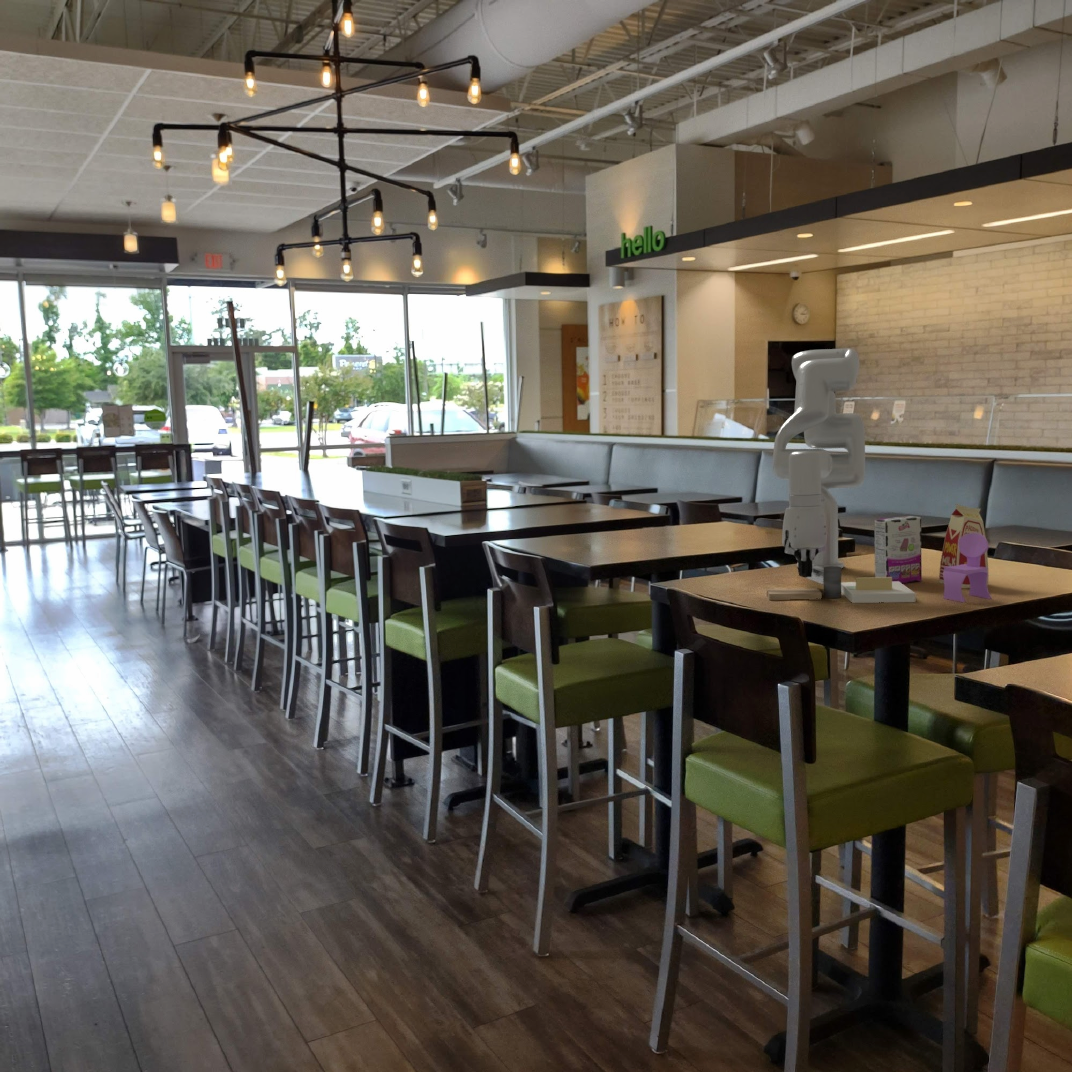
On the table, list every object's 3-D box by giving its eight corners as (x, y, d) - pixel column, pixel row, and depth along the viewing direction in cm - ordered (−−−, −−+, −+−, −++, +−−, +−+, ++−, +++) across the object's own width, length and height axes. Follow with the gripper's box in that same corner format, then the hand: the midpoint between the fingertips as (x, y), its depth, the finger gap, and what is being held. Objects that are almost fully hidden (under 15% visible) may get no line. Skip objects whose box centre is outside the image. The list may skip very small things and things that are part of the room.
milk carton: (959, 588, 244) (960, 506, 242) (936, 582, 253) (937, 502, 251) (992, 585, 246) (994, 503, 243) (969, 579, 255) (970, 500, 252)
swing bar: (832, 583, 242) (832, 571, 242) (823, 584, 242) (823, 572, 241) (813, 576, 253) (813, 564, 253) (804, 576, 253) (803, 565, 253)
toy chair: (938, 598, 233) (938, 533, 231) (966, 594, 237) (967, 530, 235) (966, 604, 226) (967, 537, 224) (995, 599, 229) (996, 534, 227)
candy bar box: (908, 578, 259) (908, 515, 257) (922, 581, 255) (922, 516, 253) (873, 583, 255) (873, 518, 253) (886, 586, 251) (887, 520, 249)
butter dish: (839, 590, 247) (839, 571, 247) (898, 589, 245) (898, 569, 245) (851, 602, 231) (851, 582, 231) (915, 602, 230) (915, 581, 229)
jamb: (766, 595, 244) (766, 566, 244) (838, 594, 242) (838, 565, 242) (769, 600, 239) (769, 570, 238) (843, 598, 236) (843, 569, 236)
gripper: (822, 499, 251) (822, 572, 253) (769, 502, 247) (770, 576, 249) (840, 501, 244) (840, 576, 246) (786, 504, 240) (786, 580, 242)
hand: (805, 576), depth 247 cm, fingers closed
